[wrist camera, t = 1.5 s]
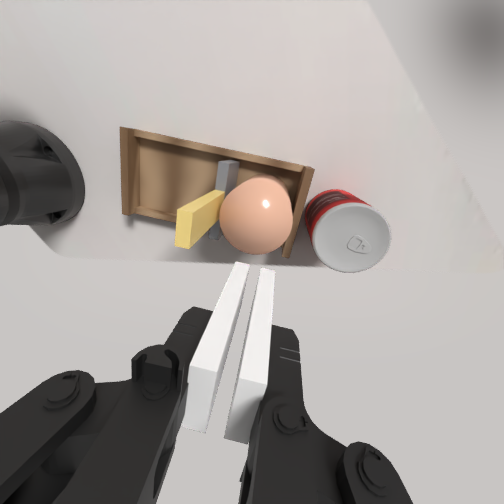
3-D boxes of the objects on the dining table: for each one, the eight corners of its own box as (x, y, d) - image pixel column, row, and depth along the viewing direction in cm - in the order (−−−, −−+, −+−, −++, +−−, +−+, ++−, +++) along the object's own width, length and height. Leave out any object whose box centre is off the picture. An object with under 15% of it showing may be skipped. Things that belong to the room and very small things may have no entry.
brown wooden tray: (136, 208, 38) (113, 217, 33) (135, 129, 33) (109, 124, 28) (288, 243, 37) (289, 258, 32) (309, 166, 33) (314, 169, 27)
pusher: (221, 222, 36) (172, 278, 20) (231, 159, 33) (180, 166, 16) (229, 224, 36) (186, 282, 20) (240, 161, 33) (197, 169, 16)
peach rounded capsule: (233, 219, 36) (214, 245, 26) (242, 168, 33) (225, 174, 23) (282, 231, 36) (282, 261, 26) (296, 179, 33) (301, 191, 23)
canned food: (349, 245, 36) (375, 280, 26) (298, 233, 36) (303, 264, 26) (369, 195, 33) (406, 213, 23) (312, 183, 33) (324, 196, 23)
